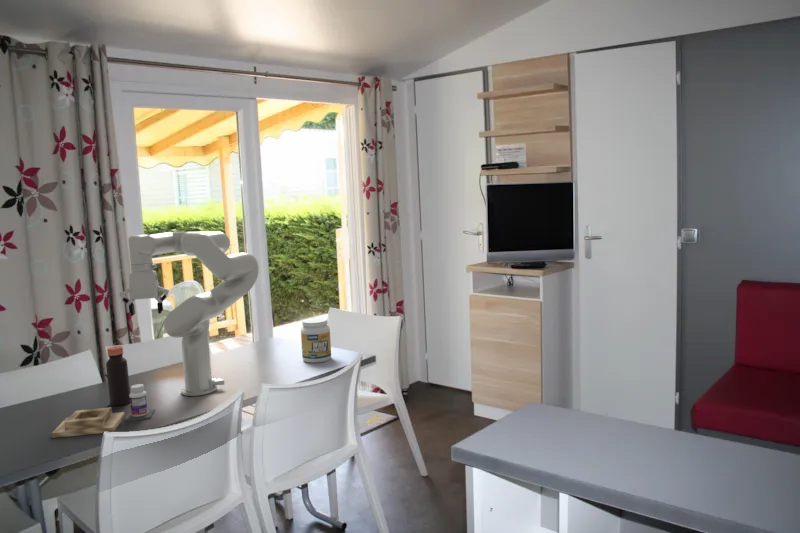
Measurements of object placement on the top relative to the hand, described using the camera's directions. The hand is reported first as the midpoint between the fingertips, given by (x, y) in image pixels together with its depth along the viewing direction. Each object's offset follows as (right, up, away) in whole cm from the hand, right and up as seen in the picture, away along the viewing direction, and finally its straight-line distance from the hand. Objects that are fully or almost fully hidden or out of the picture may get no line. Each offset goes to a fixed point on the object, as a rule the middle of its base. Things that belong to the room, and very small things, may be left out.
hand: (146, 313), depth 246 cm
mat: (+8, -32, -27) cm, 43 cm away
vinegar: (-4, -31, -13) cm, 34 cm away
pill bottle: (+8, -31, -28) cm, 43 cm away
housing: (-4, -33, -35) cm, 49 cm away
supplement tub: (+59, -22, +33) cm, 71 cm away
